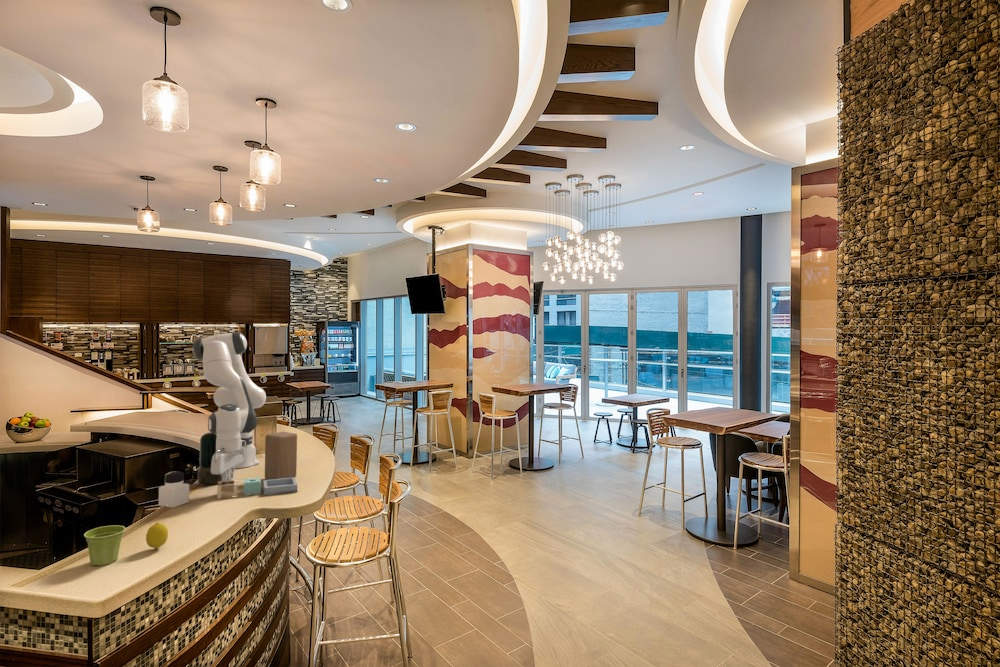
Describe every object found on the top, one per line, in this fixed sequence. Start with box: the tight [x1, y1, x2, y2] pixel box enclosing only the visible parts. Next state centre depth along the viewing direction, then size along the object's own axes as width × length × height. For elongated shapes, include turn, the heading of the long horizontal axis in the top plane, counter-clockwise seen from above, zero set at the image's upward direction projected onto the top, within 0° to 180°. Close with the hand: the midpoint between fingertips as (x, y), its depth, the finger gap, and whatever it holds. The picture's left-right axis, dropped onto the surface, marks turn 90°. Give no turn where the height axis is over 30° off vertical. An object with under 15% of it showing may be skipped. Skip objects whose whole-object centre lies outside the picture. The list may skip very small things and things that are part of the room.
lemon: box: [145, 522, 169, 550], centre depth 156 cm, size 6×6×8 cm
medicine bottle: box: [158, 470, 190, 508], centre depth 197 cm, size 7×7×12 cm
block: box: [264, 431, 298, 480], centre depth 235 cm, size 10×10×20 cm
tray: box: [262, 476, 298, 496], centre depth 217 cm, size 12×12×3 cm
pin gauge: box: [224, 468, 232, 485], centre depth 209 cm, size 3×3×10 cm
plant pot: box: [83, 524, 127, 566], centre depth 147 cm, size 9×9×9 cm
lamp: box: [197, 431, 222, 486], centre depth 225 cm, size 10×10×22 cm
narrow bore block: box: [243, 477, 262, 496], centre depth 213 cm, size 6×6×5 cm
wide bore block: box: [216, 479, 238, 499], centre depth 209 cm, size 7×7×5 cm
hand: (227, 479), depth 209 cm, fingers closed on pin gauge, 3 cm apart
